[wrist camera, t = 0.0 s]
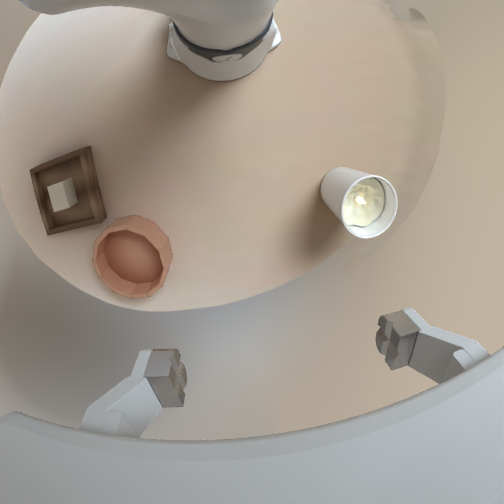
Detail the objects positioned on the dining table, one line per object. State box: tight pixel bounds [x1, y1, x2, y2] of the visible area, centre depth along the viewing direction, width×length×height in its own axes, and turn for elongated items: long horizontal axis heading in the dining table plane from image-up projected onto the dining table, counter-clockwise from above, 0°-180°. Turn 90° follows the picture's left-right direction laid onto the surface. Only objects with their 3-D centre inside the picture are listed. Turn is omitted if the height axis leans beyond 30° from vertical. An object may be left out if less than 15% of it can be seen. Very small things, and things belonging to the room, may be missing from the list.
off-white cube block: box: [47, 177, 78, 212], centre depth 40 cm, size 5×4×4 cm
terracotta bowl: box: [92, 215, 173, 299], centre depth 47 cm, size 15×15×5 cm
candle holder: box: [321, 167, 398, 239], centre depth 42 cm, size 10×10×12 cm
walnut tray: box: [30, 146, 107, 235], centre depth 41 cm, size 14×14×3 cm
